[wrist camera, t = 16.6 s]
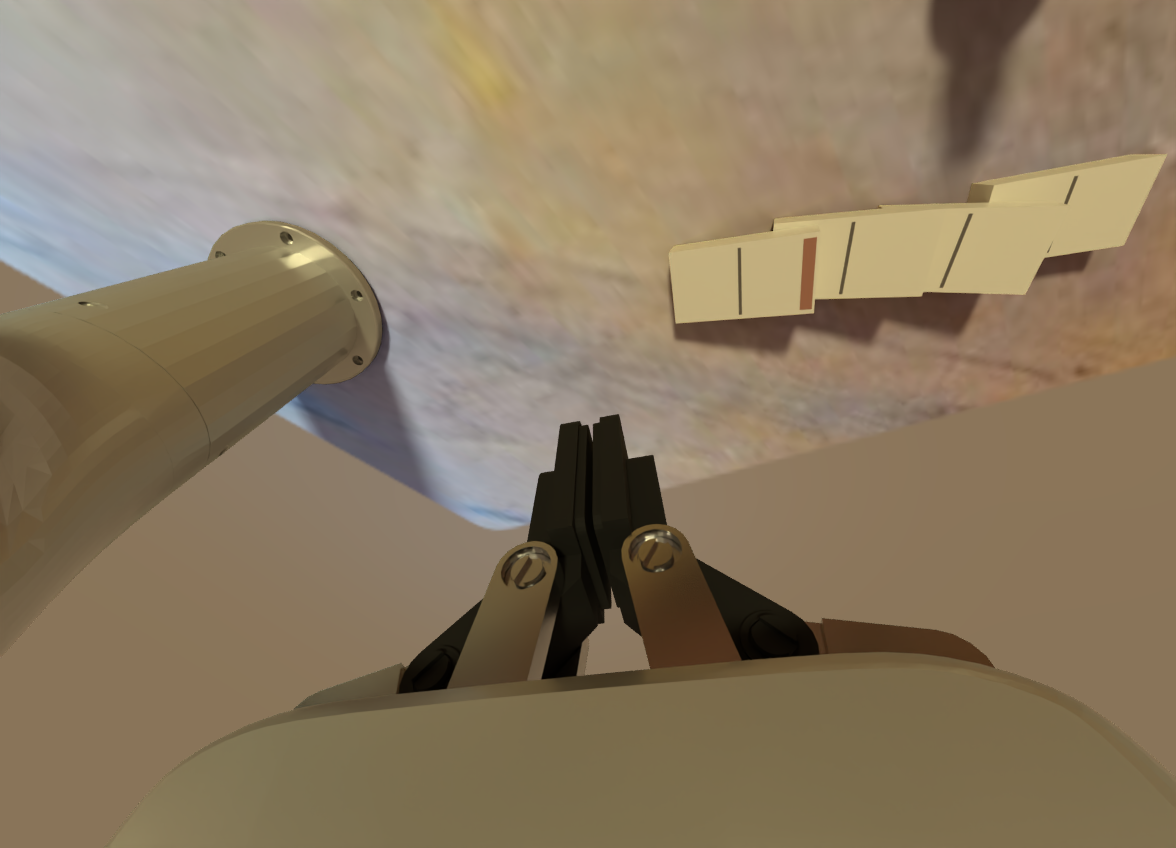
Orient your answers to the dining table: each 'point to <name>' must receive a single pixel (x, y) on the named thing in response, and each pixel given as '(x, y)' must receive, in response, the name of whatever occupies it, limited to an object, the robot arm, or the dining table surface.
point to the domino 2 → (873, 250)
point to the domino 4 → (1083, 198)
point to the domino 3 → (992, 245)
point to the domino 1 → (746, 276)
